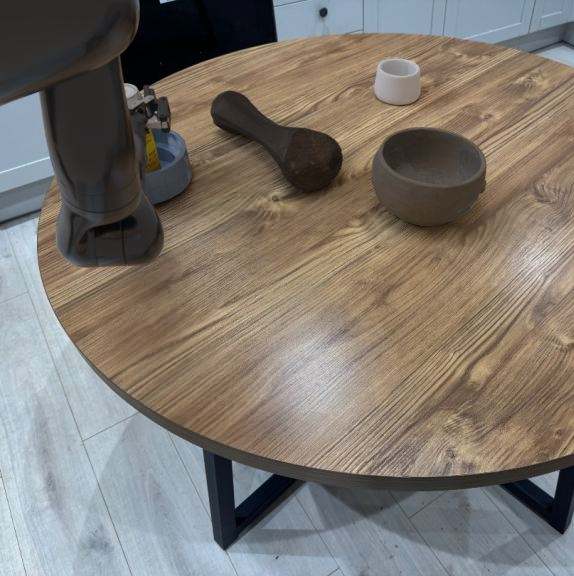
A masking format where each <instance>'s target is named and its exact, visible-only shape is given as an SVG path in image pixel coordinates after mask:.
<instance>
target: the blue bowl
mask: <svg viewBox="0 0 574 576" xmlns="http://www.w3.org/2000/svg"><path fill="white" fill-rule="evenodd" d="M151 131H152V134H153V138H154V142H155V146H156V149H157V153H158V157H159V161H160V164H161V169H160V170H157V171H153V172H150V173H147V174H145V188H146V193H147V195H148V197H149V199H150V200H151V202H152V203H153V205H156V204H159V203H162V202H165V201H168V200H171V199H172V198H174V197H176V196H178V195H179V194H181V193H182V192H183V191H184V190H185V189H186V188H187V187H188V186H189V185H190V183H191V181H192V177H193V170H192V167H191V162H190V157H189V152H188V148H187V143H186V140H185V138H183V136H182V135H181V134H179V132H177V131H175V130H173V129H170V132H169V133H162V132H161V128H153V129H151Z"/></svg>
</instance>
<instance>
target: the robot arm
mask: <svg viewBox="0 0 574 576" xmlns="http://www.w3.org/2000/svg"><path fill="white" fill-rule="evenodd" d="M140 3H141V2H140V0H0V107H2V106H6V105H8V104H10V103H13V102H16V101H18V100H21V99H23V98H26V97H29V96H31V95H35V94H37V93H38V97H39V103H40V110H41V117H42V118H41V119H42V124H43V130H44V135H45V136H44V137H45V141H46V146H47V151H48V156H49V160H50V163H51V167H52V170H53V173H54V177H55V180H56V183H57V186H58V190H59V193H60V198H61V205H60V209H59V213H58V216H57V220H56V225H55V226H56V227H55V241H56V242H55V243H56V247H57V250H58V252H59V254H60V256H61V257H62V258H63V259H64V260H65V261H66V262H68V263H69V264H71V265H73V266H75V267H78V268H85V269H93V268H115V267H116V268H117V267H138V266H140V267H141V266H146V265H149V264H151V263H153V262H155V261H156V260H157V259H158V258H159V257H160V255H161V254H162V252H163V249H164V246H165V238H166V237H165V229H164V225H163V221H162V218H161V217H160V214H159V213H158V210H157V208H156V207H155V204H153V203H152V202H151V200H150V199H149V197H148V195H147V193H146V188H145V173H146V168H147V161H148V156H147V153H146V133H147V132H148V131H149V129H153V128H161V132H162V133H169V132H170V130H172V129H171V127H172V124H171V123H172V112H171V107H170V103H169V99H168V97H167V96H163V95H162V96H159V97H158V98H157V95H156V91H155V89H154V88H153V87H150V85H149V84H147V85H143V86H142V87H143V99H142V100H140V101H139V100H134V101H133V102H131V103H130V104H128V103H127V97H126V92H125V87H124V83H125V82H124V81H125V80H124V77H123V75H124V74H123V68H122V62H121V54H122V53H123V52H125V51H126V50H127V49H128V47H129V46H130V45H131V43H133V41H134V38H135V37H136V34H137V31H138V28H139V23H140V15H141V4H140ZM136 111H137V112H136Z"/></svg>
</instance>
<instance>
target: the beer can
mask: <svg viewBox="0 0 574 576" xmlns="http://www.w3.org/2000/svg"><path fill="white" fill-rule="evenodd" d="M124 87H125V92H126V97H127V103H128V104H130V103H131V102H133V101H134V100H139V101H140V100H142V99H143V98H144V96H143V94H142V93H141V92H140V90H139V89H138V87H137V86H136V85H134V84H131V83H125V82H124ZM136 112H137V111H136ZM146 153H147V156H148V161H147V168H146V173H145V174H147V173H150V172H153V171H157V170H160V169H161V164H160V161H159V157H158V153H157V149H156V146H155V142H154V138H153V134H152V131H151V129H149V131H148V132H147V133H146Z"/></svg>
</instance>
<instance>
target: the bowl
mask: <svg viewBox="0 0 574 576" xmlns="http://www.w3.org/2000/svg"><path fill="white" fill-rule="evenodd" d="M370 175H371V184H372V187H373V190H374V192H375V195H376V197H377V198H378V200H379V201H380V203H381V204H382V205H383V206H384V208H386V210H388V211H389V213H391V214H392V215H393V216H395V217H396V218H398V219H400V220H402V221H403V222H407V223H409V224H412V225H416V226H419V227H420V226H422V227H433V226H440V225H444V224H447V223H450V222H454V221H457V220H458V219H460V218H461V217H463V216H464V215H465V214H467V213H469V212H470V210H471V209H472V208H473V207H474V205H475V204H476V202H477V201H478V199H479V197H480V195H481V194H484V192H485V190H486V186H487V184H488V183H487V179H486V175H487V159H486V156H485V153H484V152H483V150H482V149H481V148H480V147H479V145H477V144H476V143H475V142H474V141H473V140H471V139H469V138H467V137H465V136H463V135H461V134H459V133H458V132H453V131H450V130H447V129H442V128H437V127H428V126H425V127H424V126H414V127H406V128H402V129H399V130H397V131H395V132H393V133H391V134H389V135H388V136H386V137H385V138H384V140H383V141H382V142H381V144H380V145H379V147H378V149H377V150H376V151H375V154H374V156H373V158H372V162H371V173H370Z"/></svg>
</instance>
